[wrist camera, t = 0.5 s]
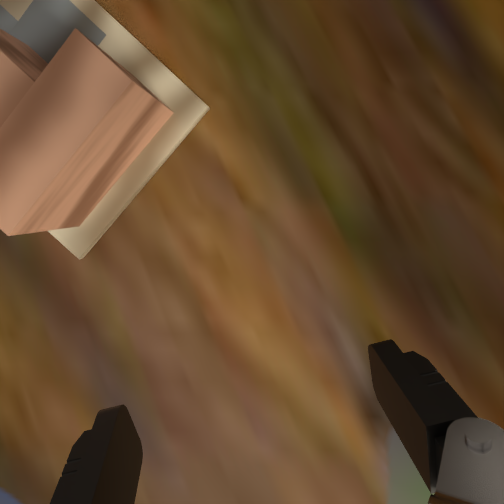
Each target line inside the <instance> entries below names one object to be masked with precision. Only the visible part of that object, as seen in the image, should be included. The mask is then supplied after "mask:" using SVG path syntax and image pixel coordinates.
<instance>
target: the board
mask: <svg viewBox="0 0 504 504" xmlns="http://www.w3.org/2000/svg"><path fill="white" fill-rule="evenodd" d="M75 28H76V29H77V30H79V31H80V32H81V33H82V34H84V35H85V36H86V37H87V38H88V39H90V40H91V41H92V42H93V43H95V44H96V45H97V46H98V47H99V48H101V49H102V50H103V51H104V52H106V53H107V54H108V55H109V56H111V57H112V58H113V59H114V60H115V61H117V62H118V63H119V64H120V65H122V66H123V67H124V68H125V69H126V70H128V71H129V72H130V73H131V74H133V75H134V76H135V77H136V78H137V79H138V80H139V81H140V82H141V83H142V84H143V85H144V86H145V87H147V88H148V89H149V90H150V91H151V92H152V93H153V94H154V95H155V96H156V97H157V98H158V99H159V100H161V101H162V102H163V103H164V104H165V105H166V106H167V107H168V108H169V109H170V110H171V111H172V112H173V114H172V116H171V117H170V118H169V119H168V120H167V122H166V123H165V124H164V125H163V126H162V128H161V129H160V130H159V131H158V132H157V134H156V135H155V136H154V137H153V138H152V140H151V141H150V142H149V143H148V144H147V146H146V147H145V148H144V149H143V150H142V152H141V153H140V154H139V155H138V156H137V158H136V159H135V160H134V161H133V162H132V164H131V165H130V166H129V167H128V169H127V170H126V171H125V172H124V173H123V175H122V176H121V177H120V178H119V179H118V181H117V182H116V183H115V184H114V185H113V187H112V188H111V189H110V190H109V191H108V193H107V194H106V195H105V196H104V197H103V199H102V200H101V201H100V202H99V203H98V205H97V206H96V207H95V208H94V209H93V211H92V212H91V213H90V214H89V215H88V217H87V218H86V219H85V220H84V221H83V223H82V224H81V225H80V226H79V227H71V228H64V229H56V230H49V231H48V232H49V233H51V234H52V235H53V236H54V237H55V238H56V239H57V240H58V241H59V242H60V243H62V244H63V245H64V246H65V247H66V248H67V249H68V250H69V251H70V252H71V253H73V254H74V255H75V256H76V257H77V258H78V259H82V258H84V257H85V255H86V254H87V253H88V252H89V251H90V250H91V248H92V247H93V246H94V245H95V244H96V242H97V241H98V240H99V239H100V238H101V237H102V235H103V234H104V233H105V232H106V231H107V229H108V228H109V227H110V226H111V225H112V224H113V222H114V221H115V220H116V219H117V218H118V217H119V215H120V214H121V213H122V212H123V211H124V209H125V208H126V207H127V206H128V205H129V204H130V202H131V201H132V200H133V199H134V198H135V196H136V195H137V194H138V193H139V192H140V191H141V189H142V188H143V187H144V186H145V185H146V183H147V182H148V181H149V180H150V179H151V178H152V176H153V175H154V174H155V173H156V172H157V170H158V169H159V168H160V167H161V166H162V165H163V163H164V162H165V161H166V160H167V159H168V158H169V156H170V155H171V154H172V153H173V152H174V150H175V149H176V148H177V147H178V146H179V145H180V143H181V142H182V141H183V140H184V139H185V137H186V136H187V135H188V134H189V133H190V132H191V130H192V129H193V128H194V127H195V126H196V124H197V123H198V122H199V121H200V120H201V119H202V117H203V116H204V115H205V114H206V113H207V111H208V110H209V109H210V108H209V107H208V106H207V105H206V104H205V103H204V102H203V101H202V100H201V99H200V98H199V97H198V96H196V95H195V94H194V93H193V92H192V91H191V90H190V89H189V88H188V87H187V86H186V85H185V84H184V83H183V82H181V81H180V80H179V79H178V78H177V77H176V76H175V75H174V74H173V73H172V72H171V71H170V70H169V69H168V68H166V67H165V66H164V65H163V64H162V63H161V62H160V61H159V60H158V59H157V58H156V57H155V56H154V55H153V54H151V53H150V52H149V51H148V50H147V49H146V48H145V47H144V46H143V45H142V44H141V43H140V42H139V41H138V40H137V39H135V38H134V37H133V36H132V35H131V34H130V33H129V32H128V31H127V30H126V29H125V28H124V27H123V26H122V25H120V24H119V23H118V22H117V21H116V20H115V19H114V18H113V17H112V16H111V15H110V14H109V13H108V12H107V11H105V10H104V9H103V8H102V7H101V6H100V5H99V4H98V3H97V2H96V1H95V0H0V29H2V30H3V31H5V32H7V33H8V34H10V35H12V36H13V37H15V38H17V39H18V40H20V41H22V42H23V43H25V44H27V45H28V46H29V47H30V48H32V49H33V50H34V51H35V52H36V53H37V54H38V55H39V56H40V57H41V58H42V59H43V60H45V61H46V62H47V63H48V64H49V62H50V61H51V60H52V58H53V57H54V56H55V54H56V53H57V52H58V50H59V49H60V48H61V46H62V45H63V44H64V42H65V41H66V40H67V38H68V37H69V36H70V34H71V33H72V32H73V30H74V29H75Z"/></svg>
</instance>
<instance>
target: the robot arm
mask: <svg viewBox="0 0 504 504" xmlns="http://www.w3.org/2000/svg"><path fill="white" fill-rule="evenodd" d="M368 352H369V360H370V367H371V375H372V382H373V387H374V391H375V394H376V396H377V399H378V401H379V403H380V405H381V407H382V408H383V410H384V412H385V414H386V415H387V417H388V419H389V421H390V422H391V424H392V426H393V428H394V429H395V431H396V433H397V434H398V436H399V438H400V440H401V442H402V443H403V445H404V447H405V449H406V450H407V452H408V454H409V455H410V457H411V459H412V461H413V463H414V464H415V466H416V468H417V470H418V471H419V473H420V475H421V476H422V478H423V480H424V482H425V484H426V485H427V487H428V489H429V491H430V492H431V496H430V498H429V501H428V504H504V430H503V429H502V428H500V427H499V426H498V425H496V424H494V423H492V422H490V421H488V420H485V419H481V418H478V417H477V416H476V415H475V414H474V413H473V411H472V410H471V409H470V408H469V407H468V406H467V404H466V403H465V402H464V401H463V400H462V399H461V397H460V396H459V395H458V394H457V393H456V392H455V390H454V389H453V388H452V387H451V386H450V385H449V383H448V382H446V381H445V379H444V378H443V377H442V375H441V374H440V373H438V372H437V370H436V368H435V367H434V366H433V365H432V364H431V363H430V361H429V360H428V359H426V358H425V357H423V356H421V355H419V354H417V353H416V352H414V351H411V352H407V353H403V352H402V351H401V350H400V349H399V347H398V346H397V345H396V343H395V342H394V341H393V340H386V341H382V342H378V343H374V344H370V345H369V346H368ZM142 458H143V452H142V445H141V441H140V438H139V436H138V433H137V431H136V428H135V426H134V424H133V421H132V419H131V416H130V414H129V412H128V409H127V407H126V406H125V405H119V406H115V407H111V408H107V409H103V410H100V411H99V412H98V414H97V416H96V419H95V422H94V425H93V427H92V429H91V430H87V431H84V433H83V434H82V435H81V436H80V438H79V439H78V440H77V441H76V443H75V444H74V445H73V447H72V449H71V452H70V454H69V457H68V459H67V464H65V467H64V469H63V472H62V477H60V479H59V482H58V484H57V487H56V489H55V492H54V494H53V497H52V499H51V502H50V504H134V502H135V497H136V492H137V486H138V481H139V476H140V470H141V465H142ZM432 493H435V494H434V495H432Z"/></svg>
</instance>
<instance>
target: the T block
mask: <svg viewBox="0 0 504 504" xmlns="http://www.w3.org/2000/svg"><path fill="white" fill-rule="evenodd" d="M172 114H173V112H172V111H171V110H170V109H169V108H168V107H167V106H166V105H165V104H164V103H163V102H162V101H161V100H159V99H158V98H157V97H156V96H155V95H154V94H153V93H152V92H151V91H150V90H149V89H148V88H147V87H145V86H144V85H143V84H142V83H141V82H140V81H139V80H138V79H137V78H136V77H135V76H134V75H133V74H131V73H130V72H129V71H128V70H126V69H125V68H124V67H123V66H122V65H120V64H119V63H118V62H117V61H115V60H114V59H113V58H112V57H111V56H109V55H108V54H107V53H106V52H104V51H103V50H102V49H101V48H99V47H98V46H97V45H96V44H95V43H93V42H92V41H91V40H90V39H88V38H87V37H86V36H85V35H84V34H82V33H81V32H80V31H79V30H77V29H76V28H75V29H74V30H73V32H72V33H71V34H70V36H69V37H68V38H67V40H66V41H65V42H64V44H63V45H62V46H61V48H60V49H59V50H58V52H57V53H56V54H55V56H54V57H53V58H52V60H51V61H50V62H49V64H48V63H47V62H46V61H45V60H43V59H42V58H41V57H40V56H39V55H38V54H37V53H36V52H35V51H34V50H33V49H32V48H30V47H29V46H28V45H27V44H25V43H23V42H22V41H20V40H18V39H17V38H15V37H13V36H12V35H10V34H8V33H7V32H5V31H3V30H2V29H0V229H1V230H2V231H3V232H4V233H6V234H7V235H8V236H12V235H19V234H27V233H34V232H41V231H49V230H56V229H64V228H71V227H79V226H80V225H81V224H82V223H83V221H84V220H85V219H86V218H87V217H88V215H89V214H90V213H91V212H92V211H93V209H94V208H95V207H96V206H97V205H98V203H99V202H100V201H101V200H102V199H103V197H104V196H105V195H106V194H107V193H108V191H109V190H110V189H111V188H112V187H113V185H114V184H115V183H116V182H117V181H118V179H119V178H120V177H121V176H122V175H123V173H124V172H125V171H126V170H127V169H128V167H129V166H130V165H131V164H132V162H133V161H134V160H135V159H136V158H137V156H138V155H139V154H140V153H141V152H142V150H143V149H144V148H145V147H146V146H147V144H148V143H149V142H150V141H151V140H152V138H153V137H154V136H155V135H156V134H157V132H158V131H159V130H160V129H161V128H162V126H163V125H164V124H165V123H166V122H167V120H168V119H169V118H170V117H171V116H172Z"/></svg>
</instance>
